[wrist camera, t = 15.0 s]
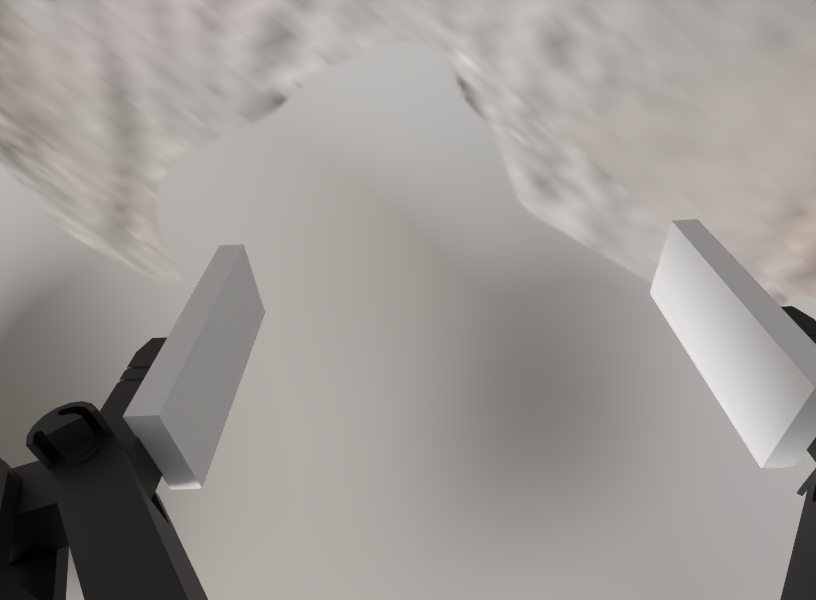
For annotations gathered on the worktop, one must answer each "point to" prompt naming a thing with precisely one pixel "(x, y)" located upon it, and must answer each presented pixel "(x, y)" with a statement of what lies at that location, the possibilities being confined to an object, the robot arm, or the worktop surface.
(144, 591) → the robot arm
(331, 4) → the worktop surface
